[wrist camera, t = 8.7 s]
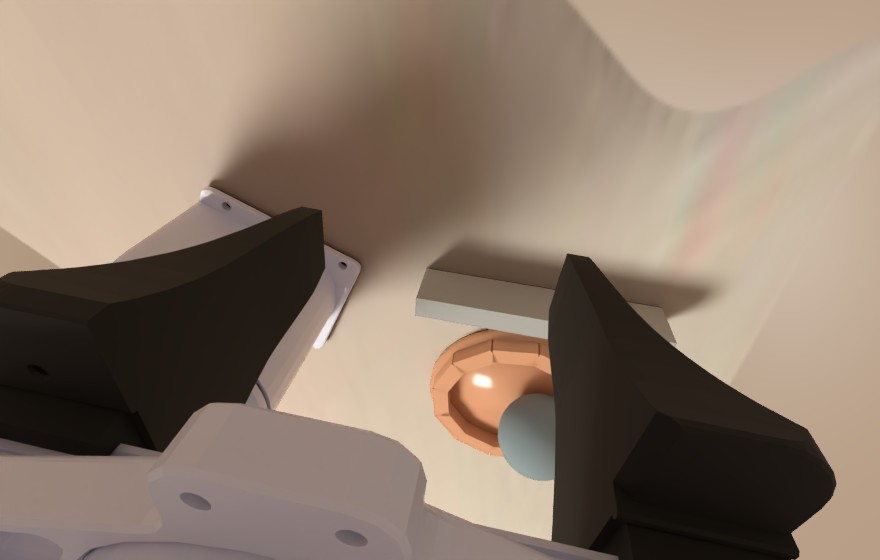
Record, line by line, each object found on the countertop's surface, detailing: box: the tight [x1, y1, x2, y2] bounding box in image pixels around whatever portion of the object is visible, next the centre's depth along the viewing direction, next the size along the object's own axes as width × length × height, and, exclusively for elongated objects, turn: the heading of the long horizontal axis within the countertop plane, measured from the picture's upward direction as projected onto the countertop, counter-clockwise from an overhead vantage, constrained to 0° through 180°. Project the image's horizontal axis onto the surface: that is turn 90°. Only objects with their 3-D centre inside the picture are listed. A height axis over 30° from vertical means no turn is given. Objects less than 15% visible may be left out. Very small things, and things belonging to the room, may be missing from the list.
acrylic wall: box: [415, 268, 677, 347], centre depth 23 cm, size 13×1×3 cm, turn 85°
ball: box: [498, 393, 555, 481], centre depth 26 cm, size 5×5×5 cm
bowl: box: [430, 329, 554, 457], centre depth 28 cm, size 11×11×2 cm
